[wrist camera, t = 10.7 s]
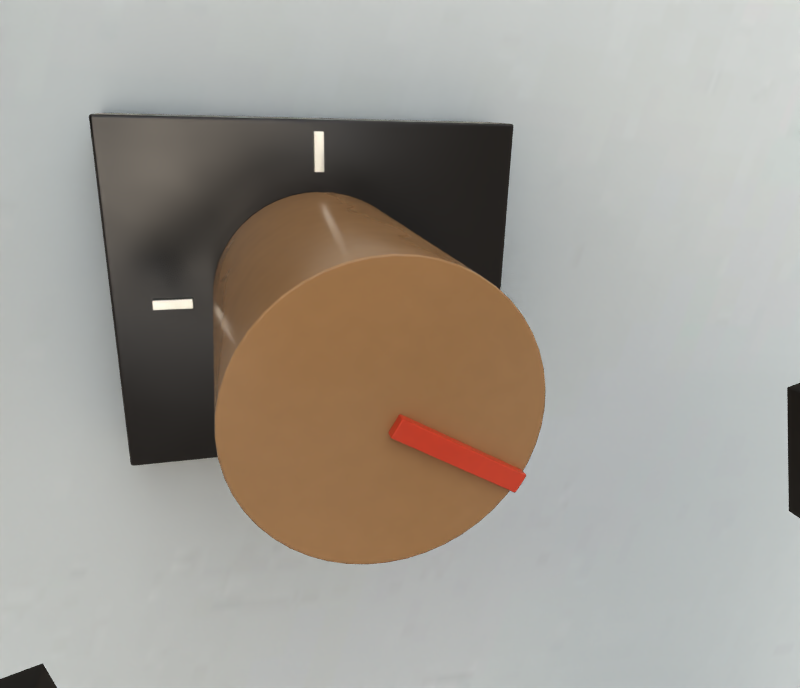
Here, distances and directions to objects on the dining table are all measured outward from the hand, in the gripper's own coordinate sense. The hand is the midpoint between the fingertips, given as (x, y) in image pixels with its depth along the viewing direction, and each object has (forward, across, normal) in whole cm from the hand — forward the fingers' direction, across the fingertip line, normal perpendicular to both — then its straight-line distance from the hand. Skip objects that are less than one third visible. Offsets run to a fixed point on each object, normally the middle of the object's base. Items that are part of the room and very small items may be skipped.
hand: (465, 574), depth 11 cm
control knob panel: (+19, 0, -1) cm, 19 cm away
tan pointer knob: (+16, 0, -1) cm, 16 cm away
